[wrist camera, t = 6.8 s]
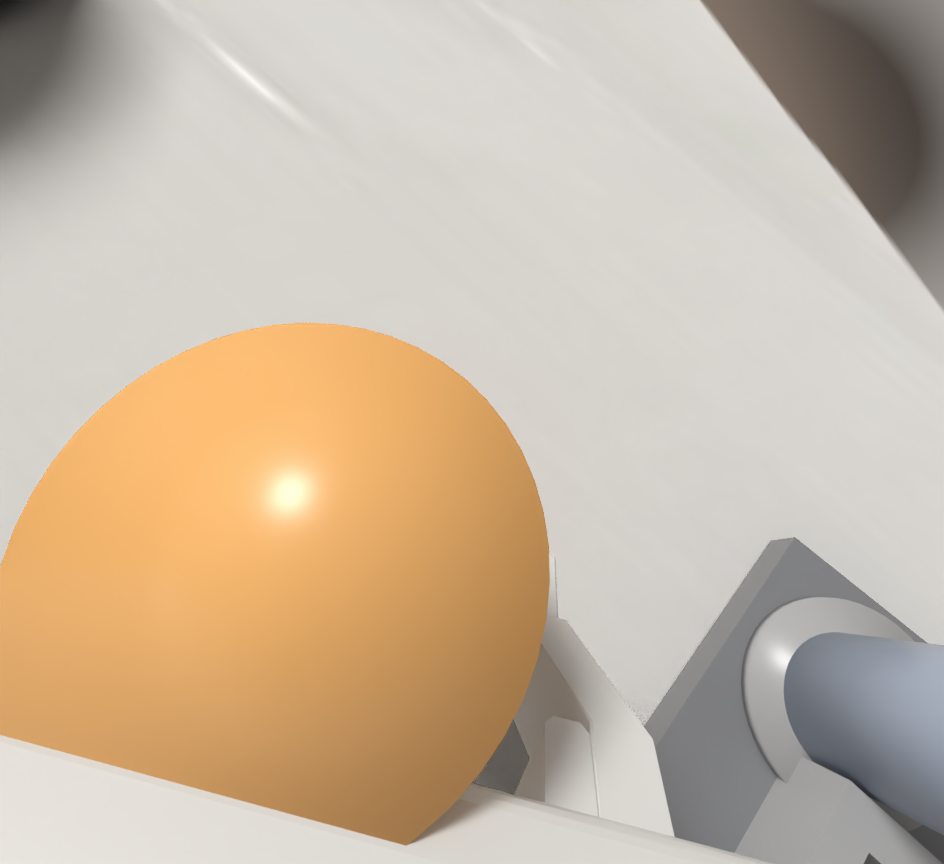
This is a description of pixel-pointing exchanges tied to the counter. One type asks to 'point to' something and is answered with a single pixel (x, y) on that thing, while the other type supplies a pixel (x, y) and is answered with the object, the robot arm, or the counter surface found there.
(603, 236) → the counter surface
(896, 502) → the counter surface
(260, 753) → the pin
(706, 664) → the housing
